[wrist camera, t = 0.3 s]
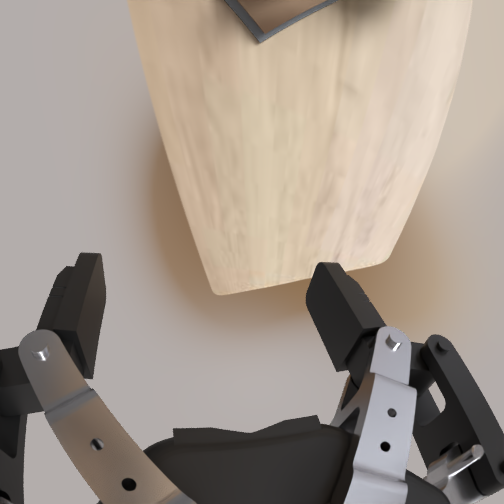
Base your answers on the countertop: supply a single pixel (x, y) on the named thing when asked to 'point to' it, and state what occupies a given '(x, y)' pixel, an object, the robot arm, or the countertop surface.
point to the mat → (261, 36)
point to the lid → (275, 11)
